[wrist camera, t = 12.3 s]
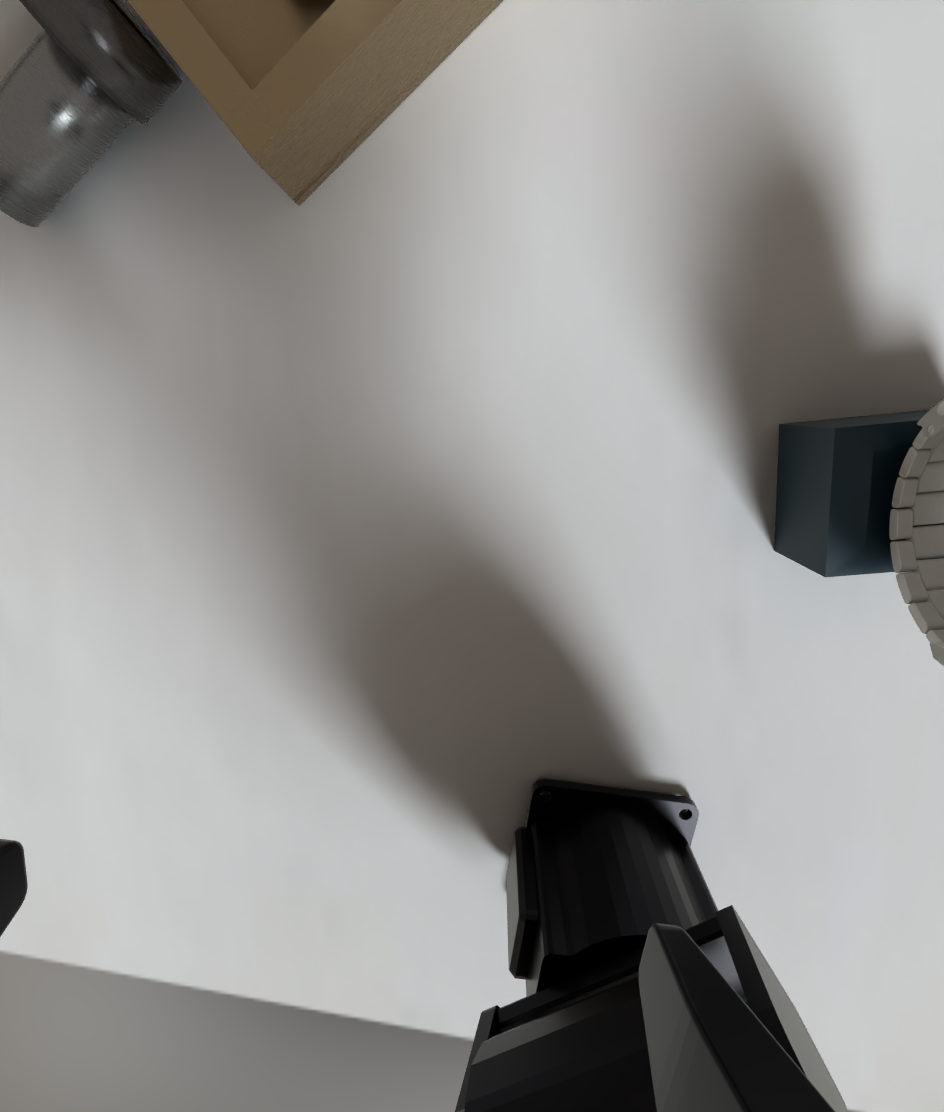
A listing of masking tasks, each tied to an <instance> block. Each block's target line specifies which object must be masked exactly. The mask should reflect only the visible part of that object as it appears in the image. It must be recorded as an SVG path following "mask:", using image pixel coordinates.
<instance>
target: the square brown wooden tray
mask: <svg viewBox="0 0 944 1112" xmlns="http://www.w3.org/2000/svg"><path fill="white" fill-rule="evenodd" d="M127 1H128V2H129V3H130V5H131V6H132V7H133V8H134V10H135V11H136V12H137V13H138V15H139V16H140V17H141V19H142V20H143V21H144V22H145V24H146V25H147V26H148V27H149V29H150V30H151V31H152V32H153V34H154V35H155V36H156V37H157V39H158V40H159V41H160V42H161V44H162V45H163V46H164V48H165V49H166V50H167V51H168V53H169V54H170V55H171V56H172V58H173V59H174V60H175V61H176V63H177V64H178V65H179V66H180V68H181V69H182V70H183V71H184V73H185V74H186V75H187V76H188V78H189V79H190V80H191V82H192V83H193V84H194V85H195V87H196V88H197V89H198V90H199V92H200V93H201V94H202V95H203V97H204V98H205V99H206V100H207V102H208V103H209V104H210V105H211V107H212V108H213V109H214V111H215V112H216V113H217V114H218V116H219V117H220V118H221V119H222V121H223V122H224V123H225V124H226V126H227V127H228V128H229V129H230V131H231V132H232V133H233V134H234V136H235V137H236V138H237V140H238V141H239V142H240V143H241V145H242V146H243V147H244V148H245V150H246V151H247V152H248V153H249V155H250V156H251V157H252V158H253V159H254V160H255V161H256V162H257V163H258V164H259V165H260V166H261V168H262V169H263V170H264V171H265V172H266V173H267V174H268V175H269V176H270V177H271V178H272V179H273V180H274V181H275V182H276V183H277V184H278V185H279V186H280V187H281V188H282V189H283V190H284V191H285V192H286V193H287V194H288V195H289V196H290V197H291V198H292V199H293V200H294V201H295V202H296V203H297V204H298V205H300V204H301V203H302V202H303V201H304V200H305V199H306V198H307V197H308V196H309V195H310V194H311V193H312V192H313V191H314V190H315V189H316V188H317V187H318V186H319V185H320V184H321V183H322V182H323V181H324V180H325V179H326V178H327V177H328V176H329V175H330V174H331V173H332V172H333V171H334V170H335V169H336V168H337V167H338V166H339V165H340V164H341V163H342V162H343V161H344V160H345V159H346V158H347V157H348V156H349V155H350V154H351V153H352V152H353V151H354V150H355V149H356V148H357V147H358V146H359V145H360V144H361V143H362V142H363V141H364V140H365V139H366V138H367V137H368V136H369V135H370V134H371V133H372V132H373V131H374V130H375V129H376V128H377V127H378V126H379V125H380V124H381V123H382V122H383V121H384V120H385V119H386V118H387V117H388V116H389V115H390V114H391V113H392V112H393V111H394V110H395V109H396V108H397V107H398V106H399V105H400V104H401V103H402V102H403V101H404V100H405V99H406V98H407V97H408V96H409V95H410V94H411V93H412V92H413V91H414V90H415V89H416V88H417V87H418V86H419V85H420V84H421V83H422V82H423V81H424V80H425V79H426V78H427V77H428V76H429V75H430V74H431V73H432V72H433V71H434V70H435V69H436V68H437V67H438V66H439V65H440V64H441V63H442V62H443V61H444V60H445V59H446V58H447V57H448V56H449V55H450V54H451V53H452V52H453V51H454V50H455V49H456V48H457V47H458V46H459V45H460V44H461V43H462V42H463V40H464V39H465V38H466V37H467V36H468V35H469V34H470V33H471V32H472V31H473V30H474V29H475V28H476V27H477V26H478V25H479V24H480V23H481V22H482V21H483V20H484V19H485V18H486V17H487V16H488V15H489V14H490V13H491V12H492V11H493V10H494V9H495V8H496V7H497V6H498V5H499V4H500V3H501V2H502V1H503V0H127Z"/></svg>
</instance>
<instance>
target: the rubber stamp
mask: <svg viewBox="0 0 944 1112" xmlns="http://www.w3.org/2000/svg"><path fill="white" fill-rule="evenodd" d="M774 551H776V552H778V553H780V554H782V555H784V556H785V557H787V558H789V559H791V560H793V561H795V562H797V563H799V564H801V565H803V566H805V567H807V568H808V569H810V570H812V571H814V572H816V573H818V574H820V575H822V576H824V577H834V576H846V575H859V574H871V573H884V572H896V573H899V574H897V575H896V578H897V582H898V585H899V588H900V591H901V594H902V597H903V599H904V601H905V603H906V604H910V605H909V607H908V608H909V611H910V613H911V615H912V617H913V618H914V620H915V622H916V624H917V625H918V627H919V628H920V630H921V632H922V633H924V634H926V637H927V639H928V640H929V641H930V647H931V650H932V654H933V657H934V659H936V660H937V661H938V662H939V663H940V664H941V665H943V666H944V399H942V400H941V401H940V402H939V403H938V404H936V405H935V406H934V407H933V408H932V409H931V410H923V411H912V412H902V413H891V414H881V415H871V416H860V417H850V418H840V419H829V420H819V421H809V422H798V423H788V424H780V425H779V449H778V474H777V498H776V522H775V547H774ZM900 572H906V573H900ZM938 590H939V591H938Z"/></svg>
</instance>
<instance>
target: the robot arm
mask: <svg viewBox="0 0 944 1112" xmlns="http://www.w3.org/2000/svg"><path fill="white" fill-rule="evenodd" d="M542 791H548V792H550V793H549V794H547V795H541V794H539V793H541V792H542ZM683 809H688V811H686V812H685V813H680V811H682V810H683ZM698 816H699V812H698V810H697V808H696V806H695V804H694V802H693V800H691V799H690V798H687V797H683V796H675V795H667V794H660V793H652V792H644V791H636V790H628V789H621V788H613V787H605V786H597V785H589V784H582V783H574V782H566V781H558V780H550V779H540V780H538V781H536V782H535V783H534V784H533V786H532V788H531V794H530V800H529V806H528V811H527V817H526V823H525V827H519V828H518V829H517V830H516V831H515V832H514V838H513V843H512V849H511V855H510V861H509V867H508V873H507V880H506V883H507V919H508V956H509V971H510V972H511V973H512V975H513V976H514V978H518V979H526V993H527V997H525V998H523V999H520V1000H518V1001H516V1002H513V1003H511V1004H509V1005H506V1006H504V1007H501V1008H500V1007H499V1006H494V1007H492V1008H490V1009H487V1010H485V1011H482V1013H481V1016H480V1020H479V1024H478V1027H477V1031H476V1035H475V1039H474V1042H473V1046H472V1050H471V1054H470V1057H469V1061H468V1065H467V1069H466V1072H465V1076H464V1080H463V1084H462V1088H461V1091H460V1095H459V1099H458V1102H457V1106H456V1110H455V1112H848V1111H847V1108H846V1105H845V1103H844V1101H843V1098H842V1096H841V1094H840V1092H839V1090H838V1088H837V1086H836V1085H835V1083H834V1081H833V1079H832V1077H831V1075H830V1073H829V1071H828V1069H827V1067H826V1065H825V1063H824V1062H823V1060H822V1058H821V1056H820V1054H819V1052H818V1050H817V1048H816V1046H815V1044H814V1042H813V1040H812V1039H811V1037H810V1035H809V1033H808V1031H807V1029H806V1027H805V1025H804V1023H803V1021H802V1019H801V1018H800V1016H799V1014H798V1012H797V1010H796V1008H795V1007H794V1005H793V1003H792V1002H791V1000H790V998H789V997H788V995H787V993H786V992H785V990H784V989H783V987H782V985H781V984H780V982H779V980H778V979H777V977H776V976H775V974H774V972H773V971H772V969H771V967H770V966H769V964H768V963H767V961H766V959H765V958H764V956H763V954H762V953H761V951H760V950H759V948H758V946H757V945H756V943H755V941H754V940H753V938H752V937H751V935H750V933H749V932H748V930H747V928H746V927H745V925H744V924H743V922H742V920H741V919H740V917H739V915H738V914H737V912H736V911H735V909H734V907H733V906H732V905H731V906H729V907H727V908H724V909H722V910H720V911H718V909H717V907H716V905H715V902H714V900H713V898H712V896H711V893H710V891H709V889H708V887H707V884H706V882H705V880H704V878H703V875H702V873H701V871H700V869H699V866H698V864H697V862H696V860H695V857H694V855H693V853H692V851H691V848H690V846H691V842H692V838H693V835H694V831H695V827H696V824H697V820H698ZM26 893H27V875H26V866H25V857H24V849H23V846H22V845H21V844H20V842H17V841H13V840H5V839H0V937H1V935H2V934H3V932H4V931H5V929H6V928H7V926H8V925H9V923H10V922H11V920H12V919H13V917H14V916H15V914H16V913H17V911H18V910H19V908H20V907H21V905H22V903H23V901H24V899H25V896H26Z"/></svg>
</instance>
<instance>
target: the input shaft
mask: <svg viewBox="0 0 944 1112" xmlns="http://www.w3.org/2000/svg"><path fill="white" fill-rule="evenodd" d="M20 1H21V2H22V4H23V5H24V6H25V7H26V8H27V10H28V11H29V12H30V13H31V14H32V16H33V17H34V18H35V19H36V20H37V21H38V23H39V24H40V25H41V26H42V27H43V30H42V31H41V32H40V33H39V35H38V36H37V37H36V38H35V40H34V41H33V42H32V43H31V45H30V46H29V47H28V48H27V50H26V51H25V52H24V53H23V55H22V56H21V57H20V58H19V60H18V61H17V62H16V63H15V64H14V66H13V67H12V68H11V69H10V71H9V72H8V73H7V74H6V76H5V77H4V78H3V79H2V81H1V82H0V210H1V211H2V212H4V213H5V214H7V215H9V216H10V217H12V218H14V219H15V220H17V221H19V222H21V223H23V224H26V225H28V226H32V227H39V226H40V225H41V223H42V222H43V221H44V220H45V219H46V218H47V217H48V215H49V214H50V213H51V212H52V211H53V210H54V209H55V207H56V206H57V205H58V204H59V203H60V202H61V201H62V200H63V198H64V197H65V196H66V195H67V194H68V193H69V192H70V190H71V189H72V188H73V187H74V186H75V185H76V184H77V182H78V181H79V180H80V179H81V178H82V177H83V176H84V175H85V173H86V172H87V171H88V170H89V169H90V168H91V167H92V165H93V164H94V163H95V162H96V161H97V160H98V159H99V157H100V156H101V155H102V154H103V153H104V152H105V151H106V150H107V148H108V147H109V146H110V145H111V144H112V143H113V142H114V140H115V139H116V138H117V137H118V136H119V135H120V134H121V132H122V131H123V130H124V129H125V128H126V127H127V126H128V124H129V123H130V122H131V121H132V120H133V119H134V118H135V119H136V120H137V121H139V122H140V123H142V124H146V123H147V122H148V121H149V120H150V118H151V117H152V116H153V115H154V114H155V113H156V112H157V111H158V109H159V108H160V107H161V106H162V105H163V104H164V103H165V101H166V100H167V99H168V98H169V97H170V96H171V95H172V94H173V92H174V91H175V90H176V89H177V88H178V87H179V86H180V85H181V83H182V82H183V80H182V78H181V77H180V75H179V74H178V72H177V71H176V69H175V68H174V67H173V65H172V64H171V63H170V62H169V60H168V59H167V58H166V56H165V55H164V54H163V53H162V51H161V50H160V49H159V48H158V46H157V45H156V44H155V43H154V41H153V40H152V39H151V38H150V36H149V35H148V34H147V33H146V32H145V30H144V29H143V28H142V27H141V25H140V24H139V23H138V22H137V21H136V19H135V18H134V17H133V16H132V15H131V13H130V12H129V11H128V10H127V9H126V7H125V6H124V5H123V4H122V3H121V2H120V0H20Z"/></svg>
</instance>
